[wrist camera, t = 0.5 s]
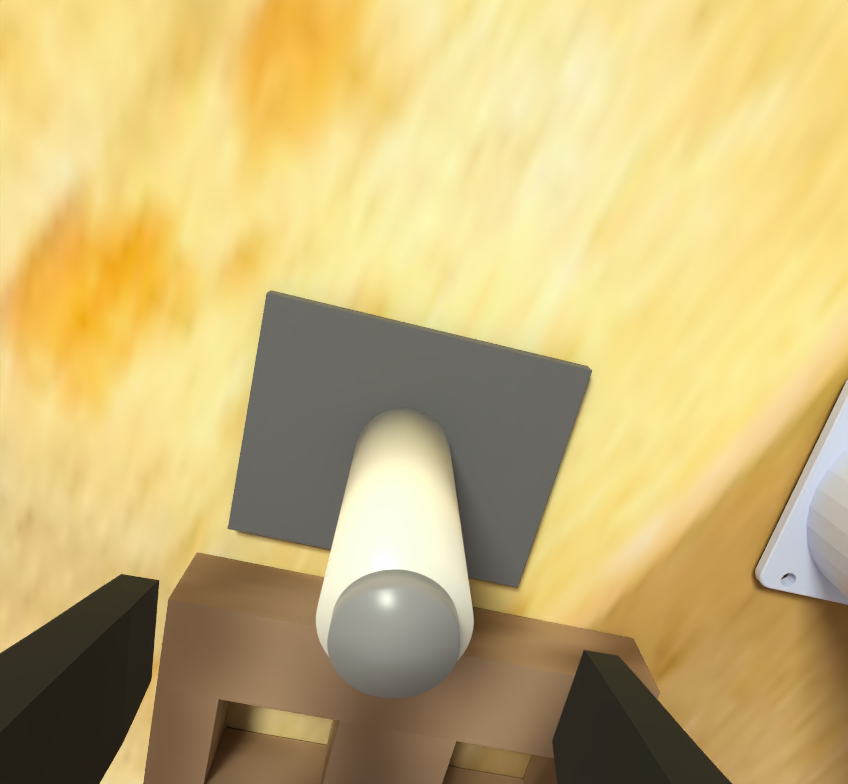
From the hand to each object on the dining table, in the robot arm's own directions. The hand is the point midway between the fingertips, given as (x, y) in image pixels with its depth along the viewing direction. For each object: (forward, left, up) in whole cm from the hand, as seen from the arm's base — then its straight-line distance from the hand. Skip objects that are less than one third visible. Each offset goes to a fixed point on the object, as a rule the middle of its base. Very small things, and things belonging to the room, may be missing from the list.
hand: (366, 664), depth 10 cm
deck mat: (0, 0, -10) cm, 10 cm away
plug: (0, 0, -9) cm, 9 cm away
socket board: (-2, +11, -10) cm, 15 cm away
